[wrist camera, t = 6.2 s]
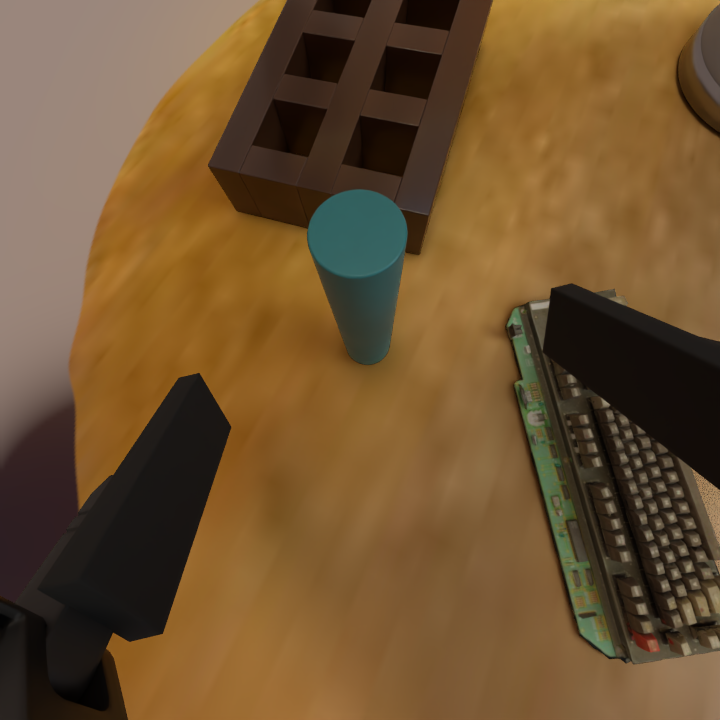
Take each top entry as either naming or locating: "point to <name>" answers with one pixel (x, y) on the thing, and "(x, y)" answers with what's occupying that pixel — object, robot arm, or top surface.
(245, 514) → the top surface
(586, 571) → the keyboard
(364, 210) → the peg
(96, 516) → the robot arm
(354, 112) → the peg board
